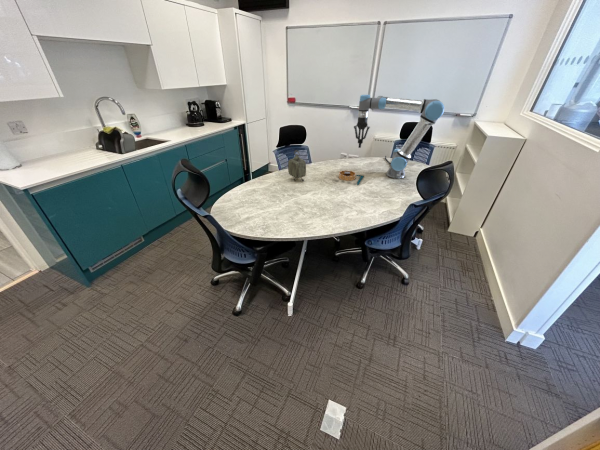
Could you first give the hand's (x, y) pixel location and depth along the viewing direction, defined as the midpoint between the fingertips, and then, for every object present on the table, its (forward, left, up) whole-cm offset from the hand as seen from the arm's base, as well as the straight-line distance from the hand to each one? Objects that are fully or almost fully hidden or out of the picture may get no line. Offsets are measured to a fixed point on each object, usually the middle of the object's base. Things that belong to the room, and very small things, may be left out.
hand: (359, 147), depth 204 cm
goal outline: (+9, -5, -25) cm, 27 cm away
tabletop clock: (+31, -44, -25) cm, 59 cm away
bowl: (+9, -6, -25) cm, 27 cm away
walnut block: (+9, -6, -24) cm, 27 cm away
